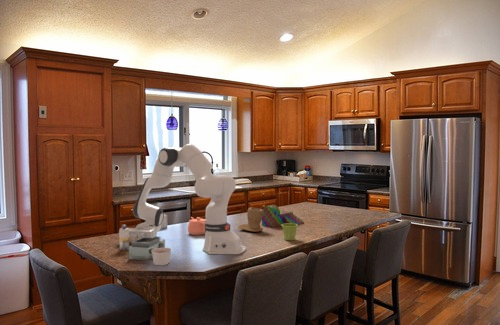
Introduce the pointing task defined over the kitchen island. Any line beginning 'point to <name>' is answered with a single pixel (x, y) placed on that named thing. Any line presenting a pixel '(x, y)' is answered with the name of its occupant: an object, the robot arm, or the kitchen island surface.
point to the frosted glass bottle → (124, 238)
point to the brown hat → (253, 220)
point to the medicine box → (164, 222)
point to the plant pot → (289, 231)
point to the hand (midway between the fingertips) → (129, 236)
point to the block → (278, 217)
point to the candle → (161, 256)
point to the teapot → (196, 226)
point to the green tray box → (144, 248)
